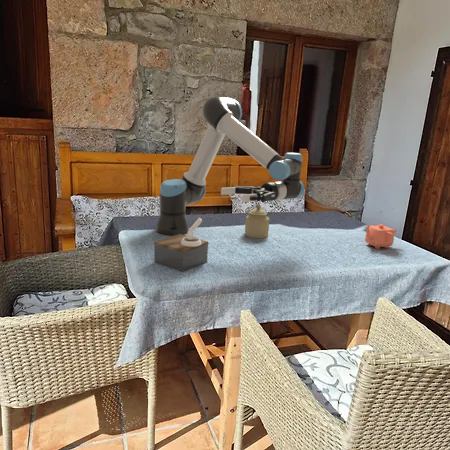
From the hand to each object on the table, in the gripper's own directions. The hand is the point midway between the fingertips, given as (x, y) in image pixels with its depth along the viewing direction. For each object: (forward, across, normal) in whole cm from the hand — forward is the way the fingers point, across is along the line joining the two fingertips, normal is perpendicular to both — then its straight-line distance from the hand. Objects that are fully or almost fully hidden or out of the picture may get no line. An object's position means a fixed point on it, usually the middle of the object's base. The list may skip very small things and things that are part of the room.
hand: (231, 194), depth 162 cm
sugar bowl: (-28, +18, -25) cm, 42 cm away
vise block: (+21, +1, -24) cm, 32 cm away
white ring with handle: (+19, -2, -17) cm, 25 cm away
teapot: (-68, -22, -24) cm, 75 cm away
